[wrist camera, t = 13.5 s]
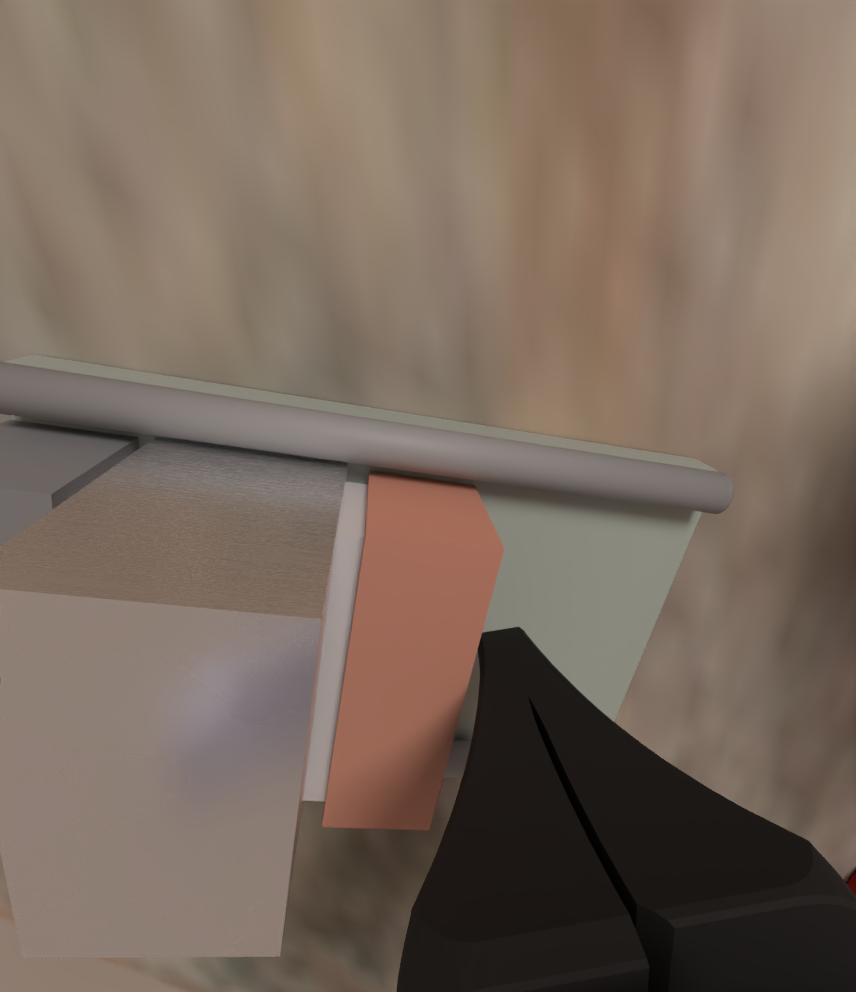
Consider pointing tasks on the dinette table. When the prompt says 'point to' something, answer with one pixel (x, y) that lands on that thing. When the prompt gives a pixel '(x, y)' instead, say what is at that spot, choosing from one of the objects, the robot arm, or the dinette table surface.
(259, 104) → the dinette table surface
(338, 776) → the block
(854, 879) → the canned food
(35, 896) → the aluminium block
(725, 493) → the vise base
